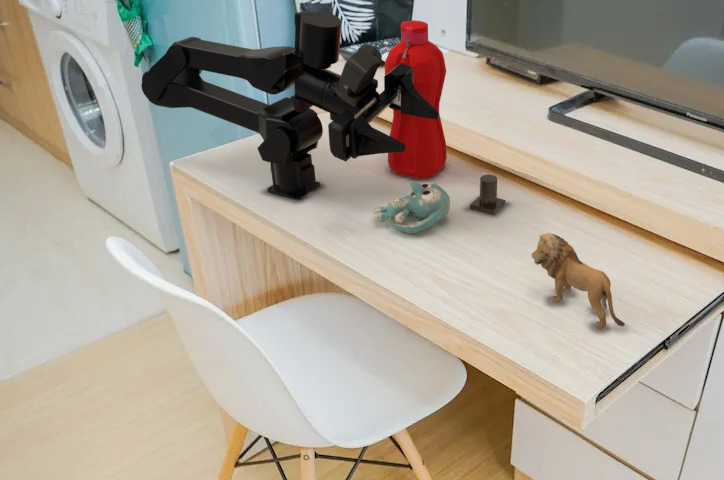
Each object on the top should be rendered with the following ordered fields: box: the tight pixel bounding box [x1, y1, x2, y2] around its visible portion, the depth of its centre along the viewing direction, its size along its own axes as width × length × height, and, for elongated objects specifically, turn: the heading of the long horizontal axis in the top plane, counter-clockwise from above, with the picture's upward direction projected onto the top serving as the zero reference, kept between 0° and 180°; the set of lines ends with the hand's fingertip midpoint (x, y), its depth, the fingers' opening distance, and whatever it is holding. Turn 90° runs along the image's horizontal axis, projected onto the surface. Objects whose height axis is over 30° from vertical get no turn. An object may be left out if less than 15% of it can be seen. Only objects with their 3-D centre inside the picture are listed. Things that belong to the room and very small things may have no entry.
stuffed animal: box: [373, 180, 451, 234], centre depth 122 cm, size 11×7×12 cm
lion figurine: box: [531, 232, 626, 330], centre depth 103 cm, size 15×5×9 cm, turn 50°
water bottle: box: [384, 19, 448, 180], centre depth 132 cm, size 9×11×25 cm
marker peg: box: [469, 174, 507, 215], centre depth 128 cm, size 4×4×5 cm
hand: (422, 131), depth 114 cm, fingers open, 9 cm apart
